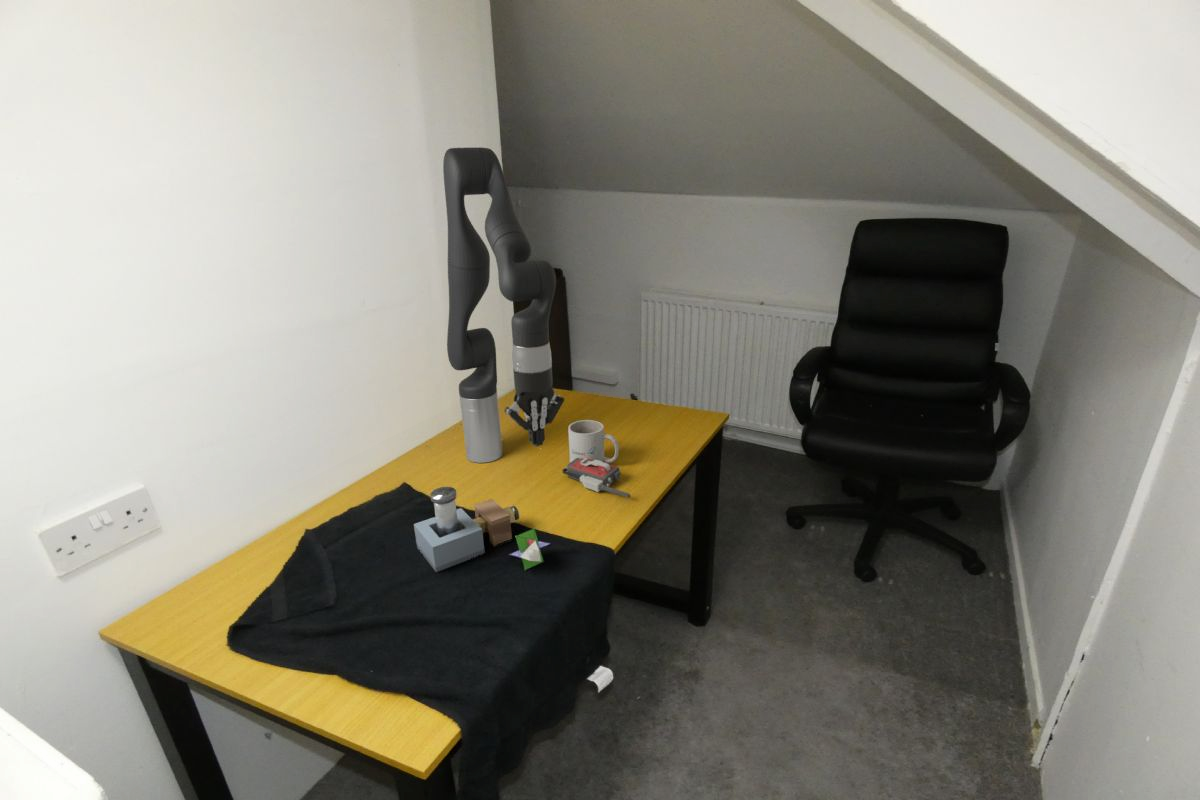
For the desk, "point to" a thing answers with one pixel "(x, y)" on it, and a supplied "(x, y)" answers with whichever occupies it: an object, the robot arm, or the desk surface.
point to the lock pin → (484, 524)
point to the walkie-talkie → (594, 474)
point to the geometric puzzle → (529, 549)
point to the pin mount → (495, 521)
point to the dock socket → (449, 542)
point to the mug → (589, 441)
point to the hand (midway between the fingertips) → (537, 444)
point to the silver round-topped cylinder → (445, 510)
